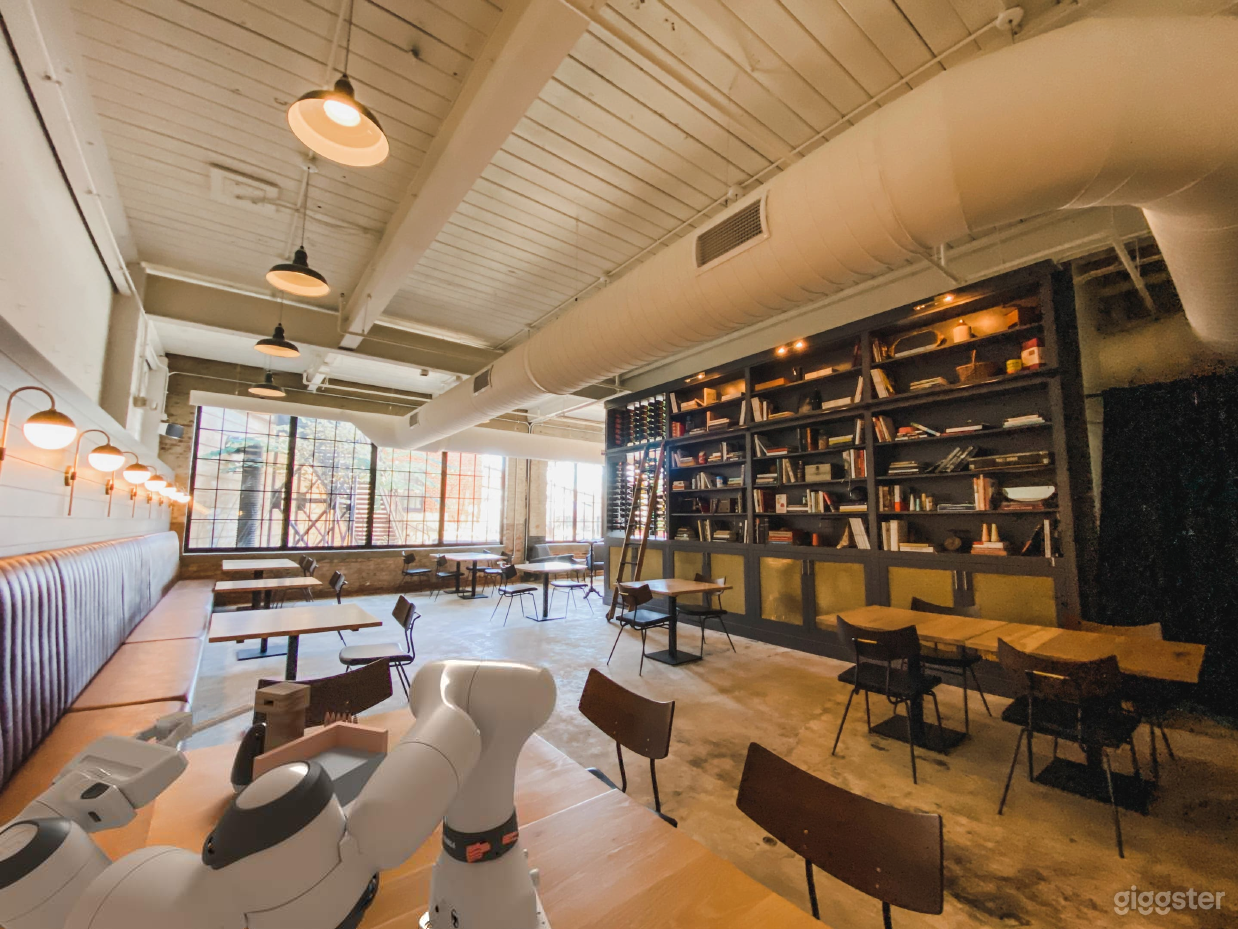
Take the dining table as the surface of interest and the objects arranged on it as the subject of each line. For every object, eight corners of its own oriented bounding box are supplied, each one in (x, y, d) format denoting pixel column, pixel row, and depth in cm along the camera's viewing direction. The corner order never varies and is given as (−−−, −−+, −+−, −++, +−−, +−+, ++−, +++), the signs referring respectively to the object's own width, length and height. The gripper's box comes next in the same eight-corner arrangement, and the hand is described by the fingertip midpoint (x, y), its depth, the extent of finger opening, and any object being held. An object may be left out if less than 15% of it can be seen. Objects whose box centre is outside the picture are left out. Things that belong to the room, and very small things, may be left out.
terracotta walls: (307, 794, 87) (308, 769, 87) (252, 781, 91) (254, 758, 92) (387, 750, 104) (388, 729, 104) (337, 740, 108) (338, 721, 109)
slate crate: (301, 899, 85) (307, 794, 87) (245, 880, 89) (252, 781, 91) (383, 836, 102) (387, 750, 104) (333, 823, 106) (337, 740, 108)
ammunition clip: (319, 759, 135) (321, 712, 136) (324, 756, 137) (327, 710, 138) (353, 763, 133) (356, 715, 134) (358, 760, 135) (361, 713, 136)
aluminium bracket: (168, 746, 85) (169, 721, 85) (155, 743, 86) (156, 719, 86) (256, 710, 99) (256, 689, 99) (243, 708, 100) (244, 687, 100)
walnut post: (280, 850, 98) (290, 695, 101) (237, 837, 102) (248, 689, 105) (317, 827, 105) (325, 683, 108) (276, 816, 109) (285, 678, 112)
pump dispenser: (222, 806, 113) (228, 735, 114) (235, 784, 122) (240, 718, 124) (277, 796, 117) (281, 727, 119) (285, 776, 126) (289, 712, 128)
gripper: (53, 803, 80) (148, 728, 92) (133, 828, 73) (225, 744, 85) (29, 776, 78) (130, 703, 90) (109, 799, 71) (207, 717, 83)
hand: (177, 723), depth 88 cm, fingers closed on aluminium bracket, 3 cm apart
